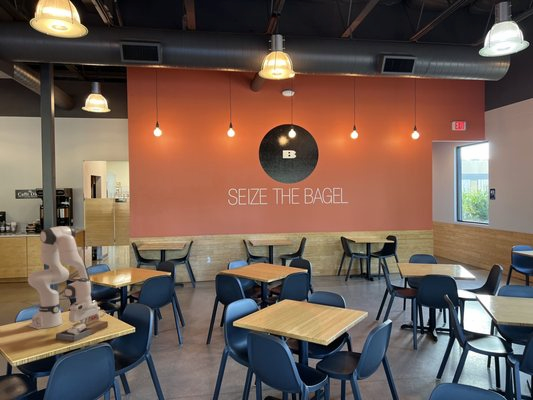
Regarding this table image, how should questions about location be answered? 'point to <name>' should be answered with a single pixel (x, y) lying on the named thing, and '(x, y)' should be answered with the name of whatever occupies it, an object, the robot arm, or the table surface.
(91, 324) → the walnut board
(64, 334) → the tray
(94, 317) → the teacup with lid
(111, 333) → the table surface
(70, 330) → the front coaster
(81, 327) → the rear coaster
